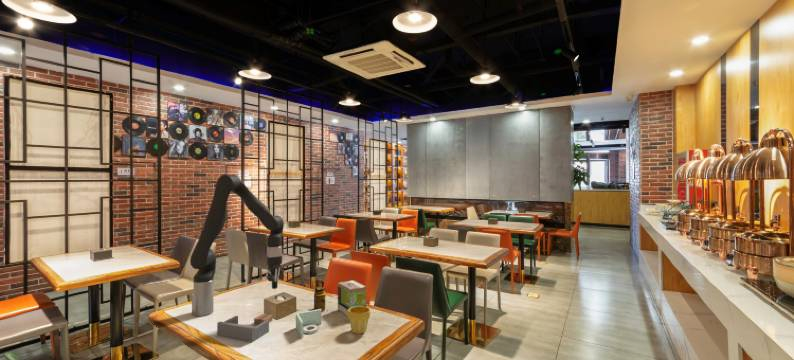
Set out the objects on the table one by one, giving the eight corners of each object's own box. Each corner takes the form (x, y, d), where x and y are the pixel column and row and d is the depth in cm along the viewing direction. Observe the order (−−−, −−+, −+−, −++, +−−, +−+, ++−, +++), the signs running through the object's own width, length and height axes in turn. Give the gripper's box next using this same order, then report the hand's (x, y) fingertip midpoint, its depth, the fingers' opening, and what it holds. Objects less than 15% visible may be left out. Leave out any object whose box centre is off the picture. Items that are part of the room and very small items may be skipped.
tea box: (366, 314, 181) (367, 286, 181) (349, 318, 175) (349, 289, 175) (353, 305, 193) (353, 279, 193) (337, 309, 187) (337, 282, 187)
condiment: (328, 311, 185) (328, 288, 185) (312, 314, 180) (312, 291, 180) (322, 306, 191) (323, 285, 191) (308, 310, 186) (308, 287, 186)
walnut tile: (254, 324, 168) (254, 318, 168) (262, 319, 174) (262, 313, 174) (264, 326, 166) (264, 320, 166) (272, 321, 172) (272, 315, 172)
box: (217, 336, 155) (217, 322, 155) (235, 326, 165) (235, 313, 165) (252, 342, 149) (252, 328, 149) (269, 331, 159) (269, 318, 159)
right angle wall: (301, 339, 153) (301, 322, 153) (295, 329, 164) (295, 313, 164) (327, 334, 159) (327, 317, 159) (320, 324, 169) (320, 309, 169)
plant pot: (369, 325, 167) (369, 305, 167) (371, 334, 157) (371, 313, 157) (347, 326, 165) (347, 306, 165) (348, 336, 155) (348, 314, 155)
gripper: (276, 251, 185) (276, 284, 185) (259, 257, 173) (259, 291, 173) (288, 252, 183) (288, 285, 183) (272, 258, 171) (272, 293, 170)
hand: (274, 288), depth 178 cm, fingers closed
